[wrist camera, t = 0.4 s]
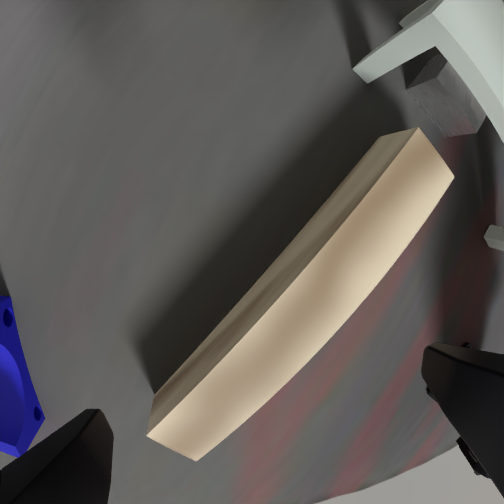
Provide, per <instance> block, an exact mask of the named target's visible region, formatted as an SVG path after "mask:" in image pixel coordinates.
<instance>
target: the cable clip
mask: <svg viewBox="0 0 504 504" xmlns="http://www.w3.org/2000/svg"><path fill="white" fill-rule="evenodd" d="M44 420H45V417H44V414H43V412H42V409H41V406H40V404H39V401H38V398H37V396H36V393H35V390H34V387H33V384H32V381H31V378H30V375H29V371H28V368H27V365H26V361H25V358H24V354H23V350H22V347H21V343H20V339H19V335H18V330H17V326H16V321H15V317H14V312H13V307H12V301H11V297H9V296H0V451H2V452H4V453H7V454H10V455H12V456H15V457H20V456H21V455H22V454H24V453H25V452H26V451H27V449H28V448H29V446H30V444H31V442H32V440H33V439H34V437H35V435H36V433H37V432H38V430H39V428H40V426H41V425H42V423H43V421H44Z"/></svg>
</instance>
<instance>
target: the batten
mask: <svg viewBox="0 0 504 504" xmlns="http://www.w3.org/2000/svg"><path fill="white" fill-rule="evenodd" d="M453 179H454V175H453V174H452V172H451V171H450V169H449V168H448V166H447V165H446V163H445V162H444V161H443V159H442V158H441V156H440V155H439V154H438V152H437V151H436V149H435V148H434V147H433V145H432V144H431V143H430V141H429V140H428V139H427V137H426V136H425V135H424V134H423V132H422V131H421V130H420V128H419V127H417V128H413V129H409V130H405V131H400V132H396V133H392V134H388V135H384V136H380V137H379V138H378V139H377V140H376V141H375V143H374V144H373V145H372V146H371V148H370V149H369V150H368V151H367V152H366V154H365V155H364V156H363V157H362V158H361V160H360V161H359V162H358V163H357V164H356V166H355V167H354V168H353V169H352V170H351V172H350V173H349V174H348V175H347V176H346V178H345V179H344V180H343V181H342V182H341V184H340V185H339V186H338V187H337V188H336V190H335V191H334V192H333V193H332V194H331V196H330V197H329V198H328V199H327V200H326V201H325V203H324V204H323V205H322V206H321V207H320V209H319V210H318V211H317V212H316V213H315V214H314V216H313V217H312V218H311V219H310V220H309V221H308V223H307V224H306V225H305V226H304V227H303V228H302V230H301V231H300V232H299V233H298V234H297V235H296V237H295V238H294V239H293V240H292V241H291V242H290V244H289V245H288V246H287V247H286V248H285V249H284V251H283V252H282V253H281V254H280V255H279V256H278V257H277V259H276V260H275V261H274V262H273V263H272V264H271V266H270V267H269V268H268V269H267V270H266V271H265V272H264V274H263V275H262V276H261V277H260V278H259V279H258V280H257V282H256V283H255V284H254V285H253V286H252V287H251V288H250V290H249V291H248V292H247V293H246V294H245V295H244V296H243V297H242V299H241V300H240V301H239V302H238V303H237V304H236V305H235V306H234V308H233V309H232V310H231V311H230V312H229V313H228V314H227V315H226V317H225V318H224V319H223V320H222V321H221V322H220V323H219V324H218V326H217V327H216V328H215V329H214V330H213V331H212V332H211V333H210V334H209V336H208V337H207V338H206V339H205V340H204V341H203V342H202V343H201V344H200V346H199V347H198V348H197V349H196V350H195V351H194V352H193V353H192V354H191V355H190V357H189V358H188V359H187V360H186V361H185V362H184V363H183V364H182V365H181V366H180V368H179V369H178V370H177V371H176V372H175V373H174V374H173V375H172V376H171V377H170V378H169V380H168V381H167V382H166V383H165V384H164V385H163V386H162V387H161V388H160V389H159V390H158V391H157V392H156V394H155V395H154V399H153V404H152V409H151V413H150V418H149V423H148V428H147V433H146V436H148V437H149V438H151V439H153V440H155V441H157V442H159V443H160V444H162V445H164V446H166V447H168V448H170V449H172V450H174V451H176V452H178V453H180V454H182V455H184V456H186V457H188V458H190V459H193V460H195V461H197V460H199V459H200V458H201V457H202V456H204V455H205V454H206V453H207V452H209V451H210V450H211V449H212V448H214V447H215V446H216V445H217V444H219V443H220V442H221V441H222V440H224V439H225V438H226V437H227V436H228V435H229V434H231V433H232V432H233V431H234V430H235V429H237V428H238V427H239V426H240V425H241V424H242V423H243V422H245V421H246V420H247V419H248V418H249V417H250V416H251V415H253V414H254V413H255V412H256V411H257V410H258V409H259V408H260V407H261V406H263V405H264V404H265V403H266V402H267V401H268V400H269V399H270V398H271V397H272V396H273V395H274V394H275V393H276V392H278V391H279V390H280V389H281V388H282V387H283V386H284V385H285V384H286V383H287V382H288V381H289V380H290V379H291V378H292V377H293V376H294V375H295V374H296V373H297V372H298V371H299V370H300V369H301V368H302V367H303V366H304V365H305V364H306V363H307V362H308V361H309V360H310V359H311V358H312V357H313V356H314V355H315V354H316V353H317V352H318V351H319V350H320V349H321V347H322V346H323V345H324V344H325V343H326V342H327V341H328V340H329V339H330V338H331V337H332V336H333V335H334V333H335V332H336V331H337V330H338V329H339V328H340V327H341V326H342V325H343V324H344V322H345V321H346V320H347V319H348V318H349V317H350V316H351V315H352V313H353V312H354V311H355V310H356V309H357V308H358V306H359V305H360V304H361V303H362V302H363V301H364V299H365V298H366V297H367V296H368V295H369V293H370V292H371V291H372V290H373V289H374V287H375V286H376V285H377V284H378V283H379V281H380V280H381V279H382V278H383V276H384V275H385V274H386V273H387V271H388V270H389V269H390V268H391V266H392V265H393V264H394V262H395V261H396V260H397V259H398V257H399V256H400V255H401V253H402V252H403V251H404V249H405V248H406V247H407V245H408V244H409V243H410V241H411V240H412V239H413V237H414V236H415V235H416V233H417V232H418V230H419V229H420V228H421V226H422V225H423V223H424V222H425V221H426V219H427V218H428V216H429V215H430V213H431V212H432V211H433V209H434V208H435V206H436V205H437V203H438V202H439V200H440V199H441V197H442V196H443V194H444V193H445V191H446V190H447V188H448V186H449V185H450V183H451V182H452V180H453Z"/></svg>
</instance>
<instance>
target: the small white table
mask: <svg viewBox="0 0 504 504" xmlns="http://www.w3.org/2000/svg"><path fill="white" fill-rule="evenodd" d="M399 24H400V25H401V26H402V27H403V28H404V29H402V30H401V31H399V32H398V33H396V34H395V35H394V36H392V37H391V38H389V39H388V40H387V41H385V42H384V43H383V44H381V45H380V46H379V47H377V48H376V49H375V50H373V51H372V52H371V53H369V54H368V55H367V56H365V57H364V58H363V59H362V60H361V61H360V62H359V63H358V64H357V65H356V66H355V67H354V68H353V70H354V71H355V72H356V73H357V74H358V75H359V76H360V77H361V78H362V79H363V80H364V81H365V82H366V83H367V84H368V83H370V82H371V81H373V80H375V79H376V78H378V77H380V76H382V75H383V74H385V73H387V72H389V71H390V70H392V69H394V68H396V67H397V66H399V65H401V64H403V63H404V62H406V61H408V60H410V59H412V58H414V57H415V56H417V55H419V54H421V53H423V52H425V51H427V50H428V49H430V48H432V47H434V46H436V47H437V48H438V50H439V51H440V52H441V53H442V54H443V56H444V57H445V58H446V59H447V60H448V62H449V63H450V64H451V65H452V67H453V68H454V69H455V70H456V72H457V73H458V74H459V76H460V77H461V78H462V80H463V81H464V82H465V84H466V85H467V86H468V88H469V89H470V91H471V92H472V93H473V95H474V96H475V98H476V99H477V101H478V102H479V104H480V105H481V107H482V108H483V110H484V111H485V113H486V114H487V116H488V118H489V119H490V121H491V122H492V124H493V126H494V127H495V129H496V131H497V132H498V134H499V136H500V138H501V139H502V141H503V143H504V3H503V2H502V0H427V1H426V2H424V3H423V4H422V5H420V6H419V7H417V8H416V9H415V10H413V11H412V12H411V13H409V14H408V15H407V16H405V17H404V18H403V19H402V20H401V21H400V22H399ZM484 239H485V240H486V242H487V244H488V246H489V247H491V248H494V249H498V250H502V251H504V227H500V226H495V225H490V226H489V228H488V229H487V231H486V233H485V235H484Z"/></svg>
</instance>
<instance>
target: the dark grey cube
mask: <svg viewBox="0 0 504 504" xmlns="http://www.w3.org/2000/svg"><path fill="white" fill-rule="evenodd" d="M406 90H407V91H408V93H409V94H410V95H411V96H412V97H413V98H414V100H415V101H416V102H417V103H418V104H419V105H420V107H421V108H422V109H423V110H424V111H425V113H426V114H427V115H428V116H429V118H430V119H431V120H432V121H433V123H434V124H435V125H436V127H437V128H438V129H439V131H440V132H441V133H442V135H443V136H444V137H451V136H458V135H465V134H473V133H477V132H478V131H479V129H480V127H481V125H482V123H483V121H484V119H485V117H486V115H487V114H486V113H485V111H484V110H483V108H482V107H481V105H480V104H479V102H478V101H477V99H476V98H475V96H474V95H473V93H472V92H471V91H470V89H469V88H468V86H467V85H466V84H465V82H464V81H463V80H462V78H461V77H460V76H459V74H458V73H457V72H456V70H455V69H454V68H453V67H452V65H451V64H450V63H449V62H448V60H447V59H446V58H445V57H444V56H443V54H442V53H441V54H439V55H437V56H435V57H433V58H431V59H430V60H429V61H428V63H427V64H426V65H425V67H424V68H423V69H422V70H421V72H420V73H419V74H418V75H417V77H416V78H415V79H414V81H413V82H412V83H411V84H410V86H409V87H408V88H407V89H406Z"/></svg>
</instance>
